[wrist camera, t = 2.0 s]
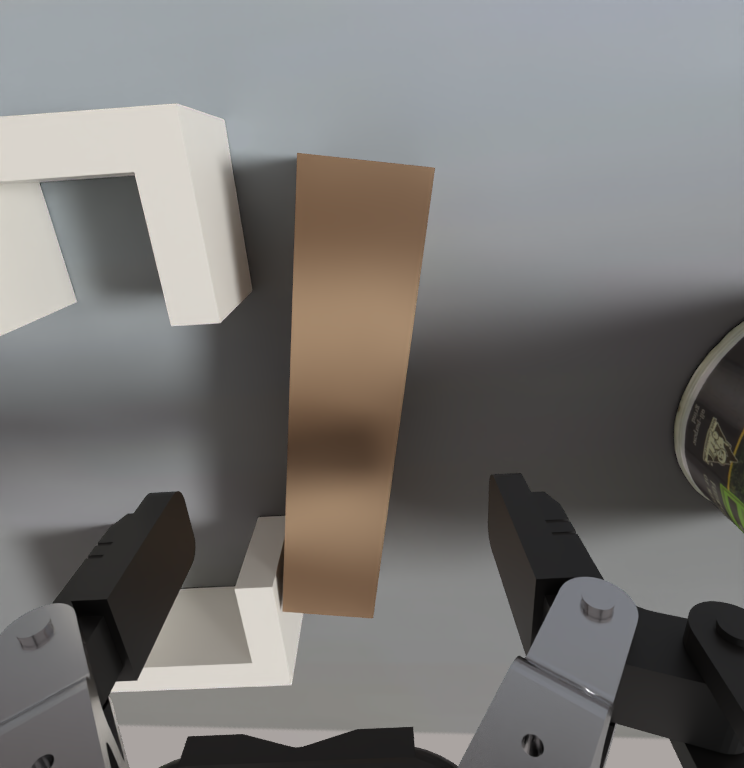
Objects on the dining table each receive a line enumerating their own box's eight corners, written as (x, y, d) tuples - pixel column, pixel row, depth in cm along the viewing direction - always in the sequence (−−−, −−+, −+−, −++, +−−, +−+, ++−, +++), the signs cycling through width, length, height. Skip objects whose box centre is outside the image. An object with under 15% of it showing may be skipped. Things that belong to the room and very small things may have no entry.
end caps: (-19, 137, 15) (-142, 127, 12) (224, 119, 15) (176, 103, 11) (146, 612, 24) (104, 692, 20) (304, 604, 24) (291, 685, 20)
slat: (314, 157, 16) (297, 152, 12) (420, 168, 16) (435, 168, 12) (297, 539, 22) (282, 611, 19) (372, 545, 22) (372, 618, 19)
